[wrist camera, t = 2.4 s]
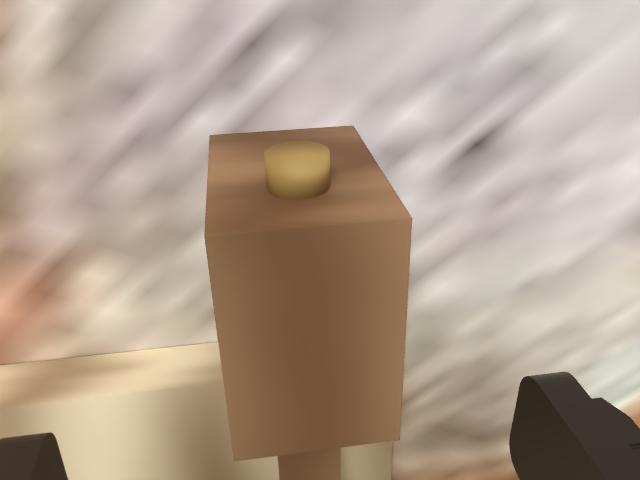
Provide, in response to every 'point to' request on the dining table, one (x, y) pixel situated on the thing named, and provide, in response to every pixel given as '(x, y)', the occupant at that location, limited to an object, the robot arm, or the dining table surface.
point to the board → (145, 418)
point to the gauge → (307, 295)
